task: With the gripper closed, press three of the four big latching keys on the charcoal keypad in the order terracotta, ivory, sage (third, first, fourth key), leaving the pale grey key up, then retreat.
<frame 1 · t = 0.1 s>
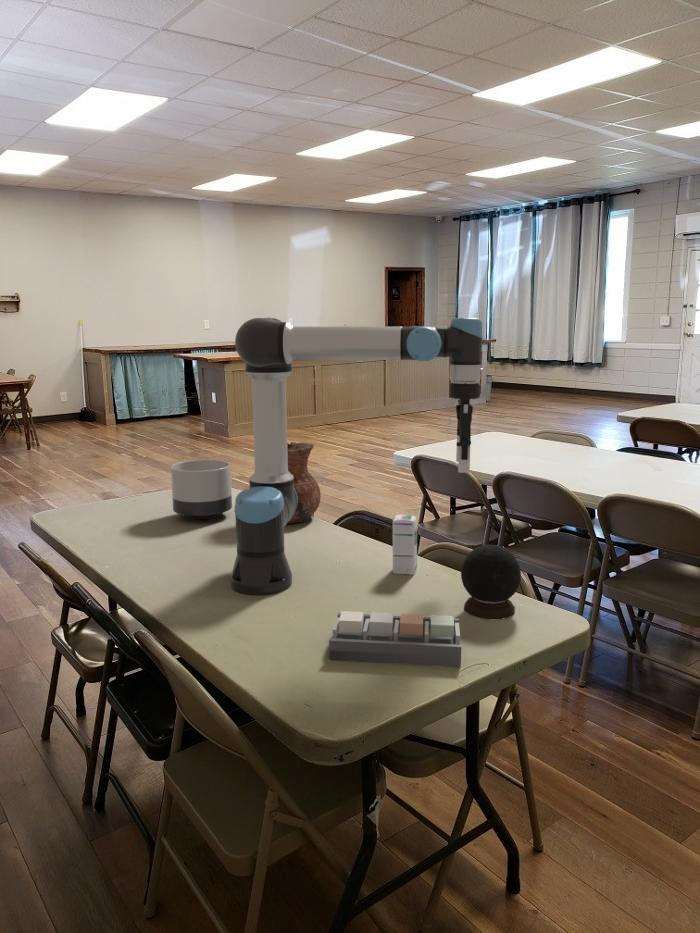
hand: (462, 466, 176), 28 cm above the table, fingers open, 13 cm apart
black ball on stand: (489, 610, 158), on the table
planter: (203, 517, 234), on the table
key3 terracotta: (411, 624, 139), point 5 cm above the table, slide at 0.0 cm
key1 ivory: (351, 621, 140), point 5 cm above the table, slide at 0.0 cm
syrup box: (404, 571, 183), on the table
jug: (289, 519, 232), on the table
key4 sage: (442, 625, 138), point 5 cm above the table, slide at 0.0 cm
keypad board: (396, 647, 140), on the table
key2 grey: (381, 623, 139), point 5 cm above the table, slide at 0.0 cm
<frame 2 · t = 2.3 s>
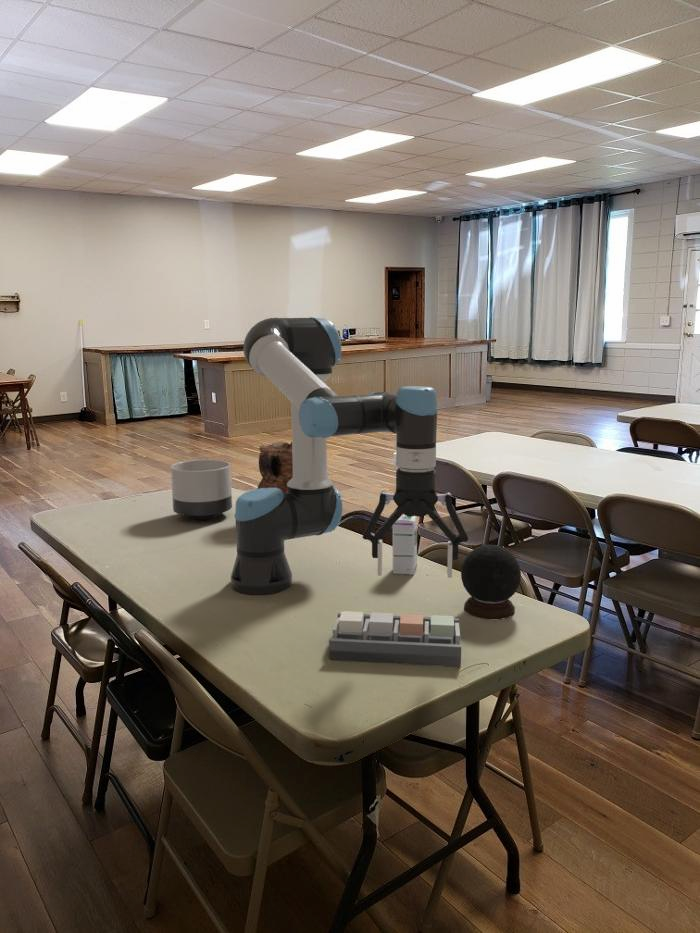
hand: (414, 574, 137), 15 cm above the table, fingers open, 13 cm apart
nothing on the table moved.
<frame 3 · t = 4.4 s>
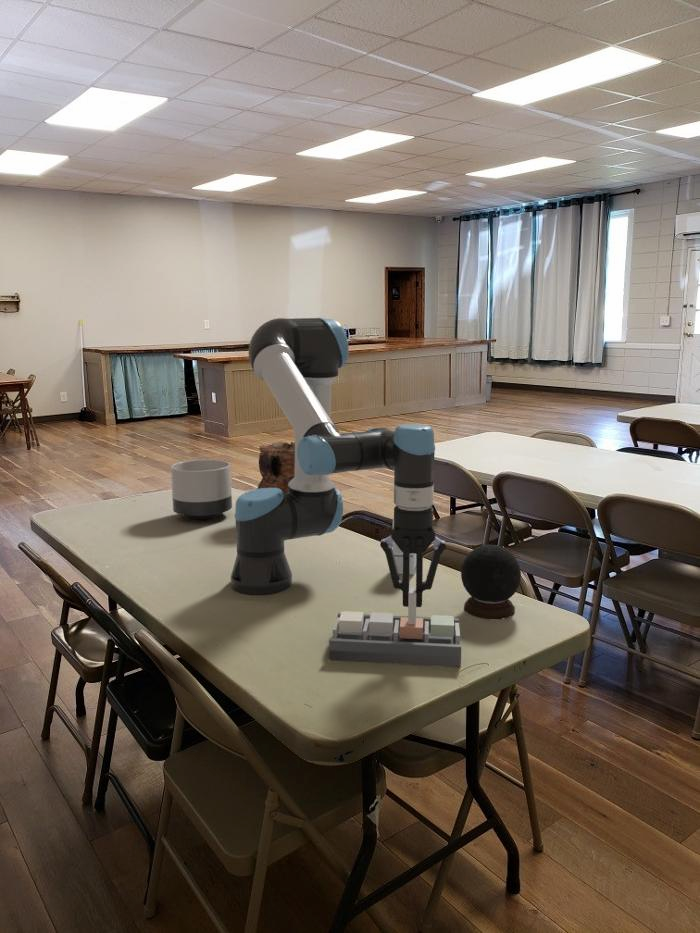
hand: (412, 621, 138), 6 cm above the table, fingers closed
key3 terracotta: (411, 628, 139), point 4 cm above the table, slide at 0.8 cm, touching gripper
everything else where it was.
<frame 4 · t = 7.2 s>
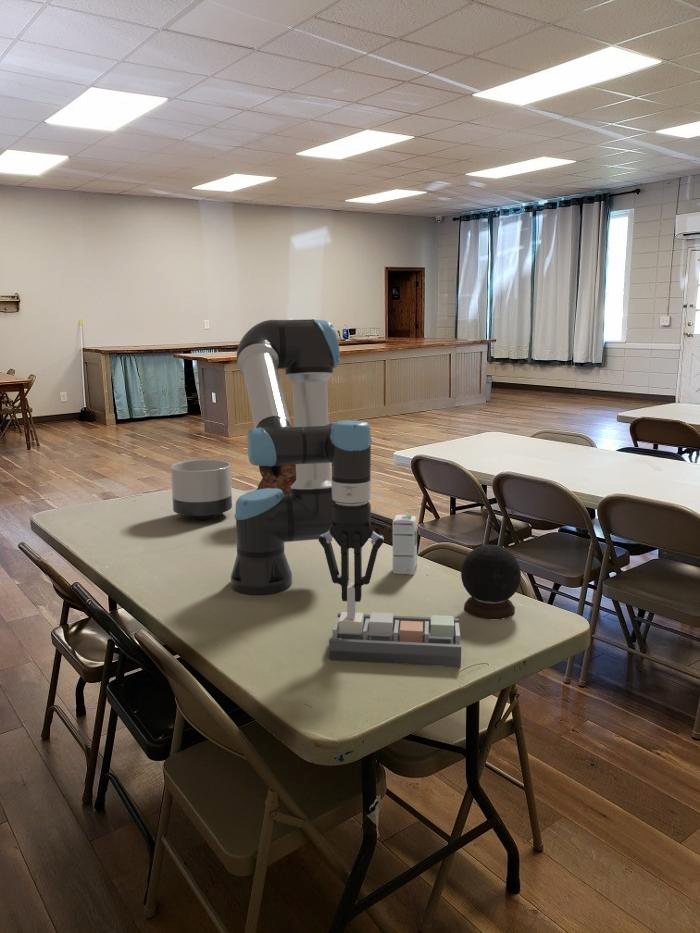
hand: (351, 616, 140), 6 cm above the table, fingers closed
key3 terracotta: (411, 631, 139), point 3 cm above the table, slide at 1.5 cm
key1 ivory: (351, 622, 140), point 5 cm above the table, slide at 0.2 cm, touching gripper
everything else where it was.
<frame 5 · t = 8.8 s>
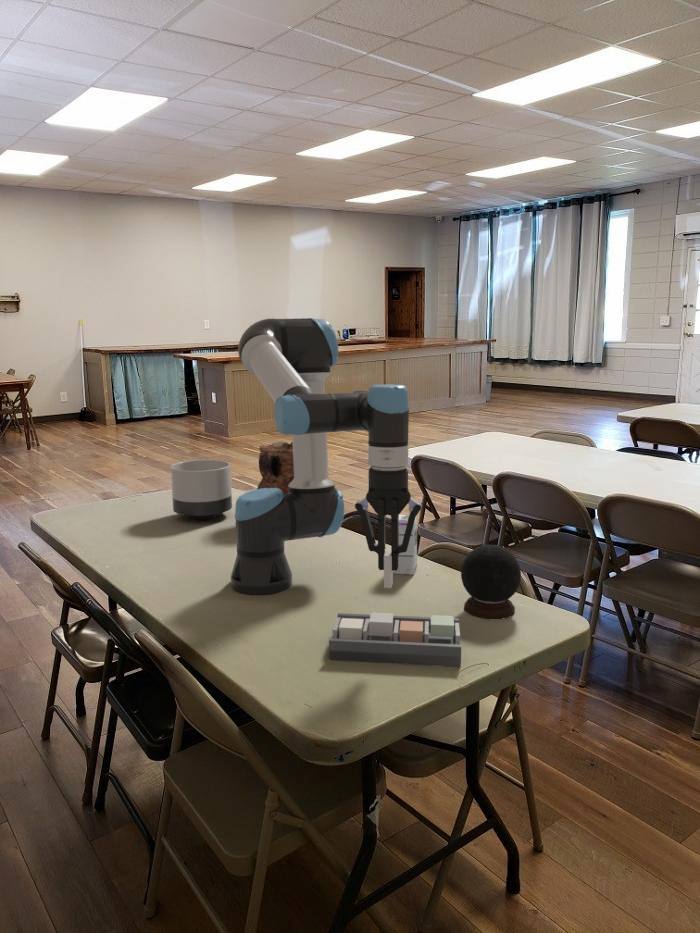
hand: (388, 585, 137), 13 cm above the table, fingers closed
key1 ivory: (351, 628, 140), point 3 cm above the table, slide at 1.5 cm
everything else where it was.
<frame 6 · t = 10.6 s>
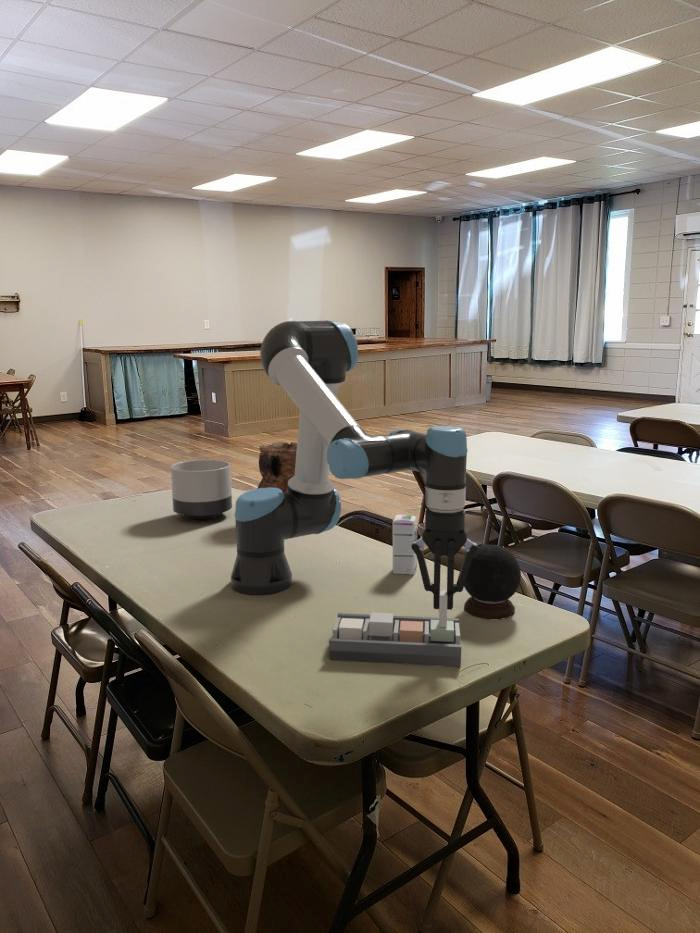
hand: (442, 623, 138), 5 cm above the table, fingers closed
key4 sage: (442, 630, 138), point 4 cm above the table, slide at 1.0 cm, touching gripper
everything else where it was.
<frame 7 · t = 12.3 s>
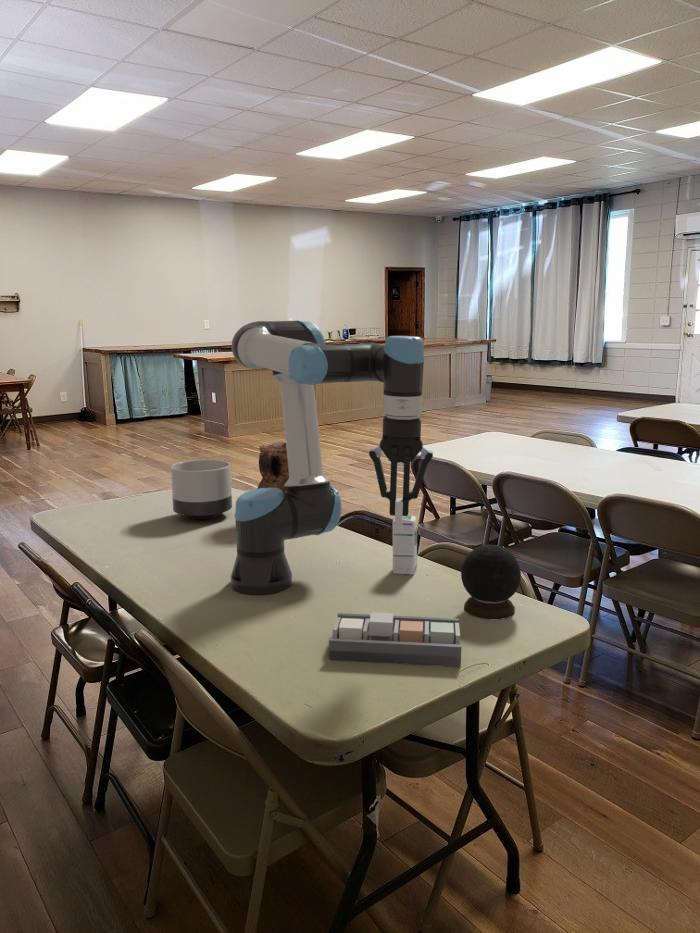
hand: (398, 530, 143), 22 cm above the table, fingers closed
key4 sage: (441, 632, 138), point 3 cm above the table, slide at 1.5 cm
everything else where it was.
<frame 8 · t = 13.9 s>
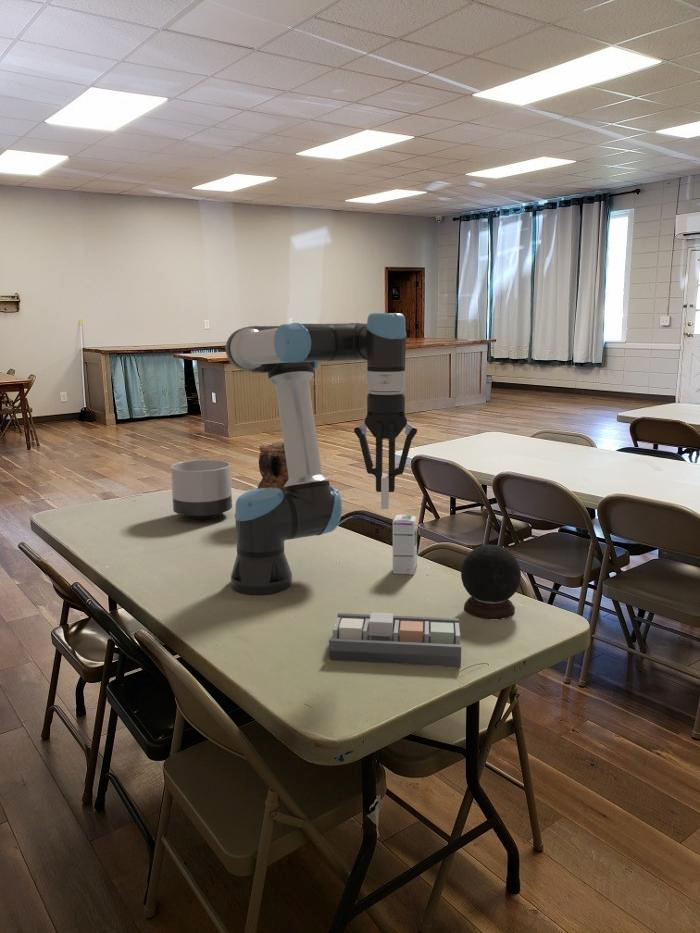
hand: (385, 507, 144), 26 cm above the table, fingers closed
nothing on the table moved.
at the end: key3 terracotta slide at 1.5 cm; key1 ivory slide at 1.5 cm; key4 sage slide at 1.5 cm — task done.
